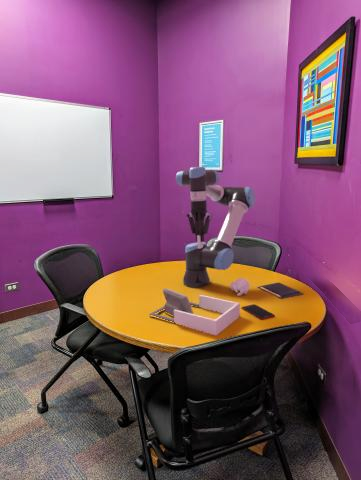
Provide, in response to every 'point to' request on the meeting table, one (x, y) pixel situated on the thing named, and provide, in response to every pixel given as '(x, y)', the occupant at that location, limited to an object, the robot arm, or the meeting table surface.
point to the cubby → (206, 324)
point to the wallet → (280, 290)
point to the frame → (167, 317)
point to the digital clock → (176, 302)
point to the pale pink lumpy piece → (240, 286)
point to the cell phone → (258, 312)
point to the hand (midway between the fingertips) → (200, 247)
